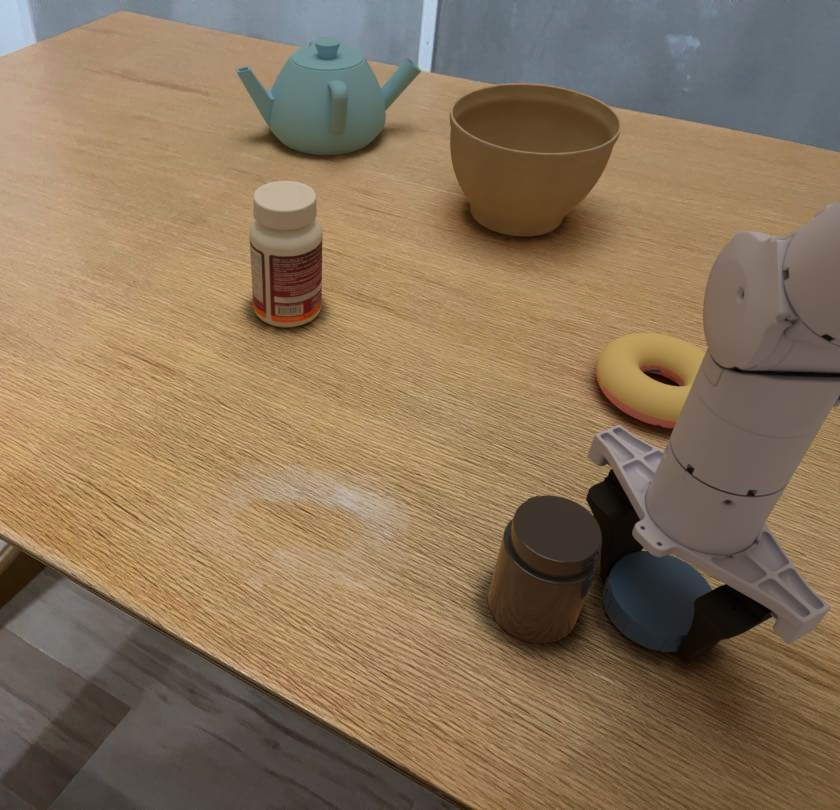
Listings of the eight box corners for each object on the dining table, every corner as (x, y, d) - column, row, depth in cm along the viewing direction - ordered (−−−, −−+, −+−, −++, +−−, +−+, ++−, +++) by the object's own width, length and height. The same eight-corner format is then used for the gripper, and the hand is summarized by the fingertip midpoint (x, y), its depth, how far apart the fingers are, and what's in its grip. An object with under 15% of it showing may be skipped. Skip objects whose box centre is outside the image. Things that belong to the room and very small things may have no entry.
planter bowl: (408, 201, 89) (417, 101, 81) (524, 168, 94) (543, 72, 87) (503, 273, 78) (524, 166, 71) (628, 231, 84) (659, 128, 77)
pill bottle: (334, 304, 74) (338, 190, 67) (295, 338, 71) (294, 221, 63) (279, 282, 77) (277, 170, 69) (238, 314, 73) (231, 199, 66)
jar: (595, 628, 49) (628, 550, 44) (516, 655, 48) (541, 578, 43) (546, 560, 53) (571, 481, 48) (471, 583, 52) (490, 505, 47)
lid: (580, 589, 51) (587, 572, 50) (654, 553, 53) (662, 536, 52) (653, 669, 47) (662, 653, 46) (730, 627, 49) (740, 610, 48)
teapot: (360, 176, 93) (365, 76, 85) (235, 142, 100) (229, 47, 92) (419, 128, 103) (428, 34, 95) (302, 100, 110) (301, 10, 102)
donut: (638, 366, 71) (565, 391, 67) (652, 317, 69) (576, 340, 64) (746, 418, 64) (671, 450, 59) (765, 365, 62) (689, 394, 57)
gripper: (570, 393, 45) (525, 549, 54) (798, 593, 35) (695, 741, 44) (666, 356, 47) (607, 511, 56) (904, 534, 37) (786, 686, 47)
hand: (652, 609), depth 50 cm, fingers closed on lid, 6 cm apart
